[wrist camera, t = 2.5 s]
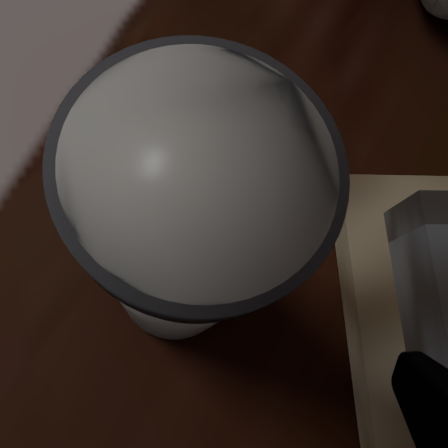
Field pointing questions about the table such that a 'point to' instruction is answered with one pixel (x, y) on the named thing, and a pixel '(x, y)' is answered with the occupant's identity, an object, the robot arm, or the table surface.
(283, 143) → the tube
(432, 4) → the fossil replica
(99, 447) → the table surface
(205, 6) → the table surface
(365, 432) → the collar
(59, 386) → the table surface
